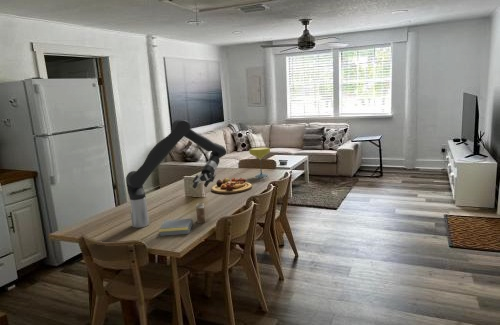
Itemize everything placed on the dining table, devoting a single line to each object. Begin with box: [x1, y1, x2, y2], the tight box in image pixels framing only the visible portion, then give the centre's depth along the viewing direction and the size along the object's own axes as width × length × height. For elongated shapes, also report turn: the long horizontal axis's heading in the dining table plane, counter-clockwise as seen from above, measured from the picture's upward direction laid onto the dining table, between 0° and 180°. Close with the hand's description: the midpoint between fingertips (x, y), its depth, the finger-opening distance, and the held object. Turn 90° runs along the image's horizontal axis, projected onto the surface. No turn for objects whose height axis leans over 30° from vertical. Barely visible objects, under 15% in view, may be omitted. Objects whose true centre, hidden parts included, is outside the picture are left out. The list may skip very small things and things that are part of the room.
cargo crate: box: [195, 202, 207, 224], centre depth 227 cm, size 4×4×11 cm
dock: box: [158, 218, 193, 237], centre depth 216 cm, size 16×15×4 cm
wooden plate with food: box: [211, 177, 253, 195], centre depth 299 cm, size 32×32×8 cm
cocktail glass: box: [248, 146, 271, 178], centre depth 332 cm, size 18×18×25 cm
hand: (199, 186), depth 228 cm, fingers open, 8 cm apart
